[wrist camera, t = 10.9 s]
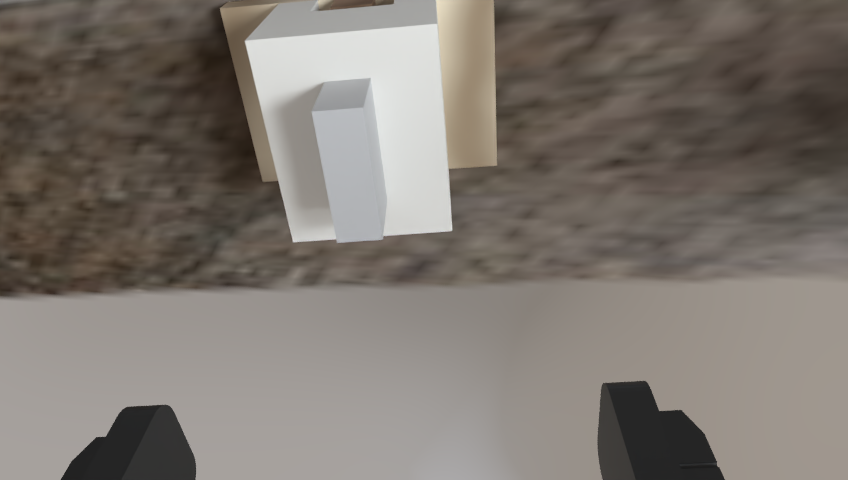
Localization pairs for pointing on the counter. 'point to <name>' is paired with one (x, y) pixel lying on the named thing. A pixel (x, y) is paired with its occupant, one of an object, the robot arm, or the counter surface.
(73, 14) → the counter surface
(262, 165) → the wall board
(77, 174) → the counter surface
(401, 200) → the notched white block
